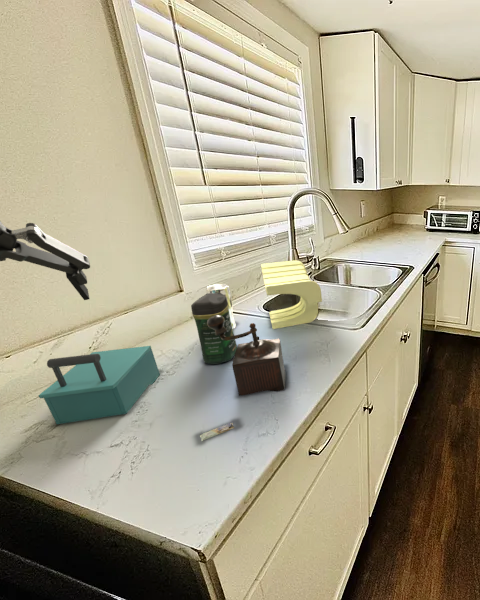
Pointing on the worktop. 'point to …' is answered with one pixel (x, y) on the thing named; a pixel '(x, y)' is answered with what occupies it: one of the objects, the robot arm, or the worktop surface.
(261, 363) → the manual coffee grinder
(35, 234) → the robot arm
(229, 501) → the worktop surface
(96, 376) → the lunchbox lid
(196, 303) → the coffee jar
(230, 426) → the granola bar
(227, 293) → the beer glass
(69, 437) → the worktop surface
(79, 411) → the lunchbox
